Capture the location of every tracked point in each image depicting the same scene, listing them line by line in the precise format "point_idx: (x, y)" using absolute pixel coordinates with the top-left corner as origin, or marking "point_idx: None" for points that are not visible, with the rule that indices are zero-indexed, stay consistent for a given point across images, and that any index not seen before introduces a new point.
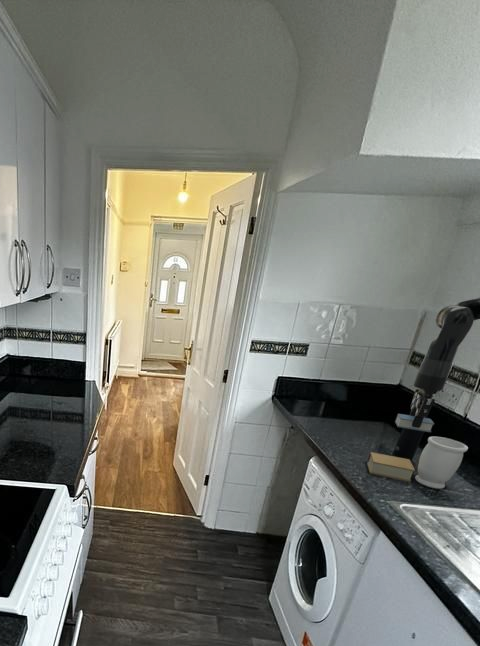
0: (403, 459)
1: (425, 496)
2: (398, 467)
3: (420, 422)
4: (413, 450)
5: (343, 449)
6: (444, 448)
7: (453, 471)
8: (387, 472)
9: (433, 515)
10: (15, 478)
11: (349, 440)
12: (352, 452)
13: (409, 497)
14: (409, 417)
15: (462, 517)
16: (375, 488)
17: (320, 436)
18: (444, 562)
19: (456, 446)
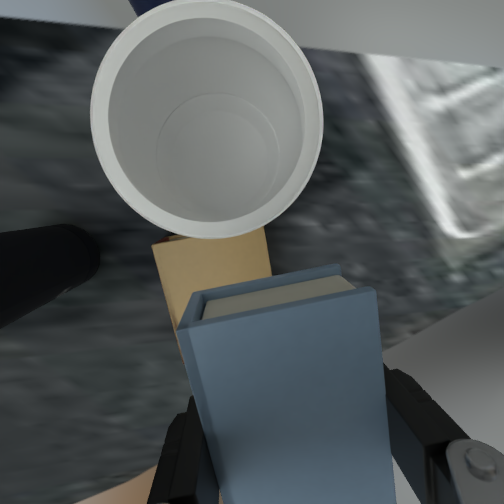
0: (173, 264)
1: (351, 178)
2: (271, 272)
3: (428, 400)
4: (50, 241)
5: (125, 410)
6: (318, 149)
7: (261, 96)
8: None
9: (472, 159)
10: None
11: (7, 412)
12: (130, 386)
13: (389, 217)
14: (311, 486)
15: (439, 84)
16: (385, 298)
17: (57, 482)
18: None
19: (135, 70)
